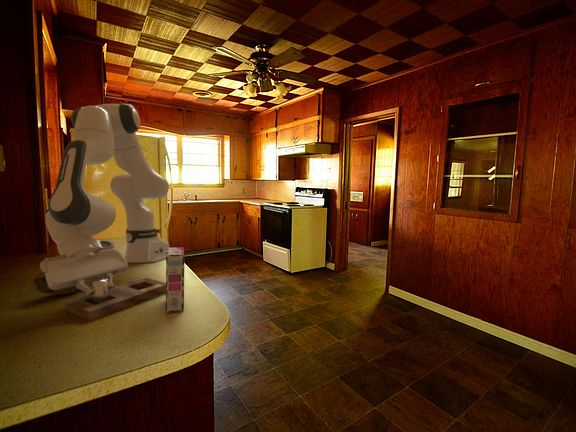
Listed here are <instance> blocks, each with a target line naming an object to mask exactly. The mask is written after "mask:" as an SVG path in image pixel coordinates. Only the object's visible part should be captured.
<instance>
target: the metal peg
mask: <svg viewBox="0 0 576 432" xmlns="http://www.w3.org/2000/svg"><path fill="white" fill-rule="evenodd" d="M90 287H93V290H94V291H95V292H94V293H93V295H91V297H92V304H94V305H97V304H100V303H103V302H106V301H108V279H107V278H97V279H93V280H91V281H90Z"/></svg>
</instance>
